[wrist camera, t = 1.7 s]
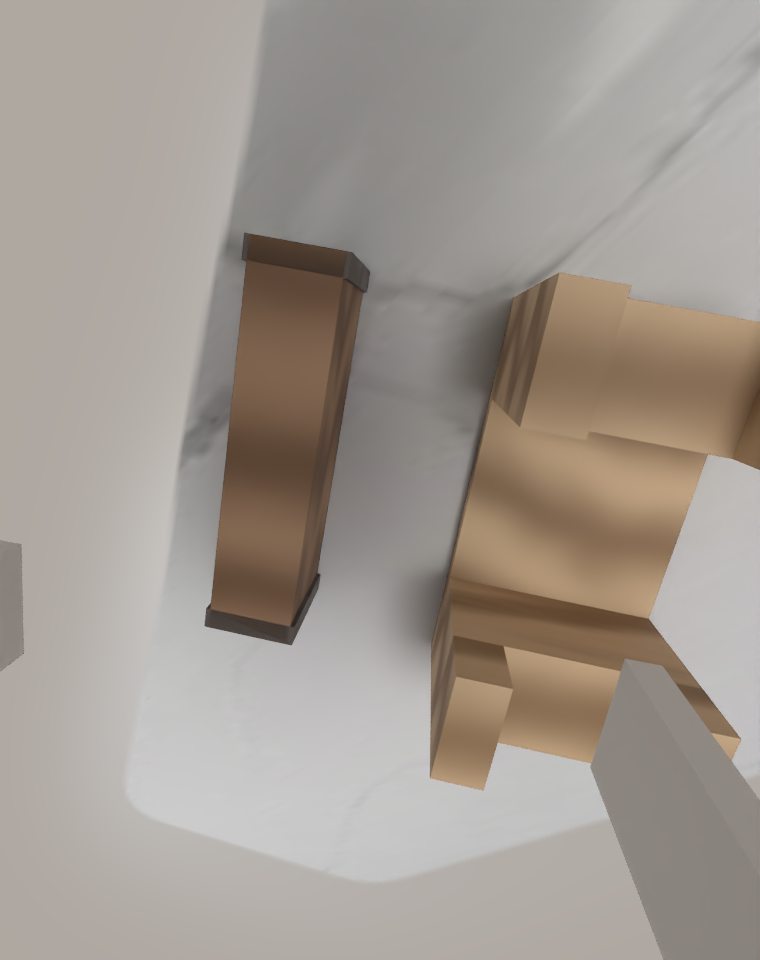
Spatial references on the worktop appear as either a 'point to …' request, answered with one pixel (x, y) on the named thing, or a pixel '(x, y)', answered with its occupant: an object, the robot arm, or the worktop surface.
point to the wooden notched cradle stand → (581, 516)
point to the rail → (283, 432)
